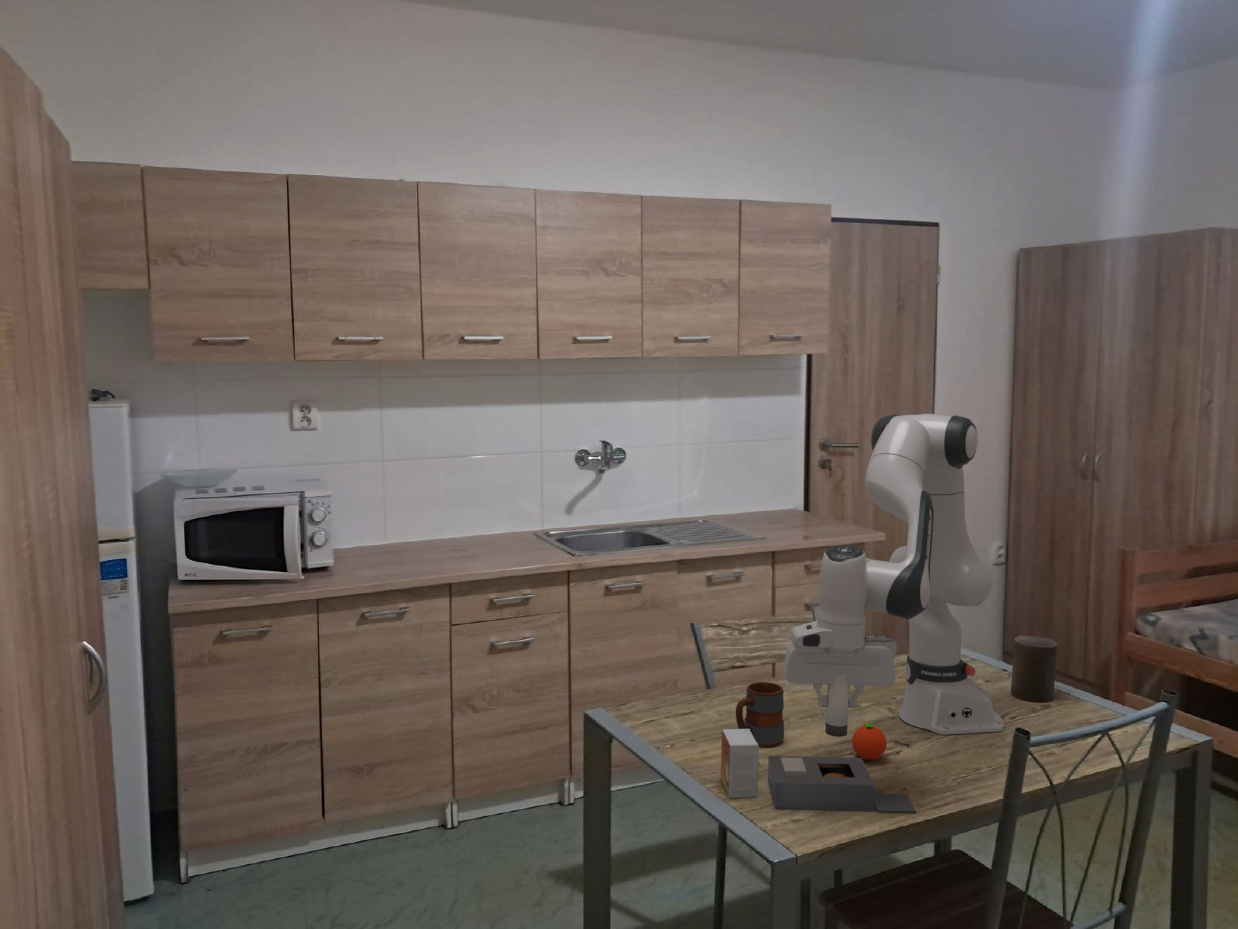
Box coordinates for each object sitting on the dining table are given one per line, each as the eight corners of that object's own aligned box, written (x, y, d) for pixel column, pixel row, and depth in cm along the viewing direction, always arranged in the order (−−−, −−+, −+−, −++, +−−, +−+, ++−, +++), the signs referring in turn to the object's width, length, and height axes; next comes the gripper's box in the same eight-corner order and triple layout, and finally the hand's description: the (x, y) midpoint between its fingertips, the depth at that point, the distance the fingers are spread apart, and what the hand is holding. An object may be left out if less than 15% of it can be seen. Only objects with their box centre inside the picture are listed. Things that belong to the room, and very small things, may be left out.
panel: (860, 782, 194) (861, 753, 194) (873, 811, 183) (875, 779, 182) (767, 780, 195) (768, 751, 194) (775, 808, 183) (775, 777, 182)
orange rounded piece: (844, 780, 191) (845, 773, 190) (849, 791, 186) (849, 783, 186) (821, 780, 191) (821, 772, 191) (825, 790, 186) (825, 782, 186)
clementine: (847, 749, 210) (848, 716, 209) (880, 750, 210) (881, 717, 209) (854, 765, 202) (856, 731, 202) (889, 766, 202) (890, 732, 201)
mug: (722, 740, 214) (724, 688, 213) (765, 729, 221) (767, 678, 219) (748, 754, 207) (750, 700, 206) (792, 742, 213) (793, 690, 212)
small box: (720, 780, 195) (721, 728, 194) (748, 779, 195) (749, 727, 194) (728, 799, 187) (729, 745, 186) (757, 798, 188) (758, 744, 186)
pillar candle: (1037, 705, 237) (1042, 644, 235) (1002, 693, 245) (1006, 633, 243) (1062, 698, 242) (1066, 638, 240) (1026, 686, 250) (1030, 628, 248)
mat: (906, 796, 189) (906, 794, 189) (916, 813, 182) (916, 811, 182) (869, 795, 189) (869, 793, 189) (877, 812, 182) (877, 810, 182)
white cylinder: (844, 729, 189) (847, 667, 187) (848, 737, 185) (852, 674, 183) (823, 728, 189) (826, 666, 188) (827, 736, 185) (830, 673, 184)
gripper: (893, 631, 188) (889, 702, 189) (783, 627, 188) (781, 698, 190) (901, 640, 181) (897, 714, 183) (788, 637, 182) (785, 710, 184)
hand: (837, 706), depth 186 cm, fingers closed on white cylinder, 4 cm apart
